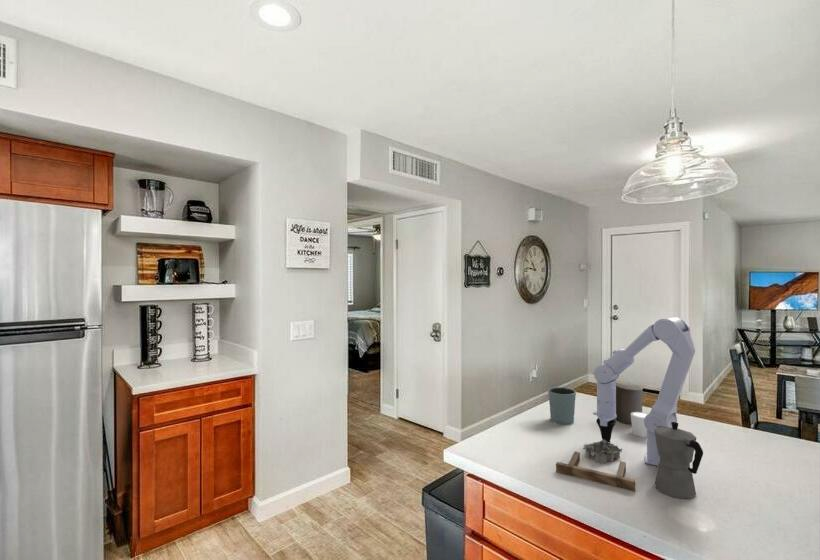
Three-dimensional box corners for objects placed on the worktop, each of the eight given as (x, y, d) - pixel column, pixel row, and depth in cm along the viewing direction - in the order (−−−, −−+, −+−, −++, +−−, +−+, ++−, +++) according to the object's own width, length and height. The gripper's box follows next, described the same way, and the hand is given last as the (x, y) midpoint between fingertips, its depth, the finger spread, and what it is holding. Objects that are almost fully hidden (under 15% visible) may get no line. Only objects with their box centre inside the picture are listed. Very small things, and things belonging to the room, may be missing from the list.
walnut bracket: (637, 473, 117) (637, 464, 117) (635, 491, 107) (635, 482, 107) (564, 457, 127) (564, 449, 127) (556, 472, 117) (555, 463, 117)
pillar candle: (611, 421, 158) (612, 383, 158) (616, 414, 166) (617, 378, 166) (640, 427, 153) (640, 387, 152) (644, 419, 160) (644, 382, 160)
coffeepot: (641, 478, 114) (641, 414, 113) (672, 476, 115) (672, 413, 114) (683, 510, 98) (683, 435, 98) (719, 507, 99) (719, 434, 99)
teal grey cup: (578, 419, 161) (578, 389, 161) (573, 427, 152) (573, 395, 152) (551, 415, 166) (551, 385, 166) (545, 422, 158) (545, 391, 157)
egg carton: (600, 465, 122) (600, 452, 122) (580, 456, 129) (580, 443, 129) (624, 458, 127) (624, 445, 127) (604, 449, 133) (604, 437, 133)
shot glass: (656, 438, 142) (656, 418, 142) (636, 437, 142) (636, 417, 142) (645, 430, 149) (645, 411, 149) (626, 430, 149) (626, 411, 149)
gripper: (596, 393, 144) (596, 431, 144) (589, 404, 132) (589, 446, 132) (618, 396, 140) (618, 435, 141) (614, 408, 128) (614, 451, 128)
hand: (606, 441), depth 136 cm, fingers closed
